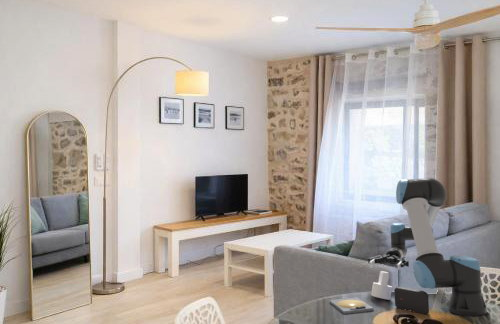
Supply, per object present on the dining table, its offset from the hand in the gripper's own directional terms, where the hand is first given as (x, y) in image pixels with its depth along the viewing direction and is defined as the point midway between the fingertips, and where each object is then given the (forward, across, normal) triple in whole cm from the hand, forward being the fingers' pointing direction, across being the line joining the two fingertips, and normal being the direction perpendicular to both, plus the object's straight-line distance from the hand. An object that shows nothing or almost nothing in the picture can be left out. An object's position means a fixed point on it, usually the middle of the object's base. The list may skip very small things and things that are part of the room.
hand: (384, 266), depth 237 cm
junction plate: (+23, +10, -14) cm, 29 cm away
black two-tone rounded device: (+20, -17, -14) cm, 30 cm away
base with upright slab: (+8, 0, -13) cm, 16 cm away
